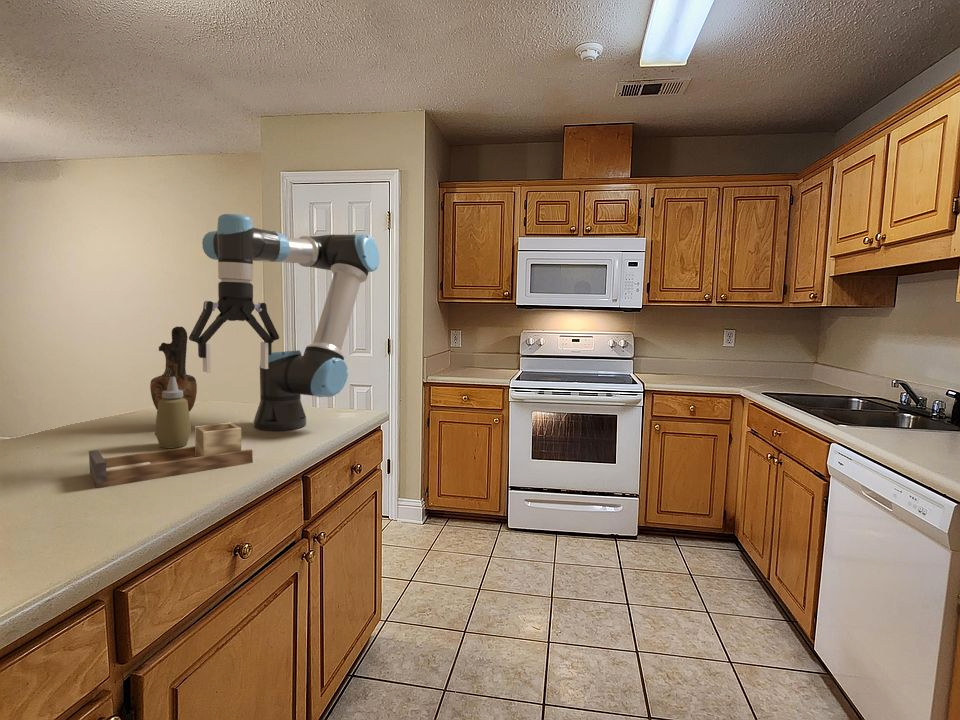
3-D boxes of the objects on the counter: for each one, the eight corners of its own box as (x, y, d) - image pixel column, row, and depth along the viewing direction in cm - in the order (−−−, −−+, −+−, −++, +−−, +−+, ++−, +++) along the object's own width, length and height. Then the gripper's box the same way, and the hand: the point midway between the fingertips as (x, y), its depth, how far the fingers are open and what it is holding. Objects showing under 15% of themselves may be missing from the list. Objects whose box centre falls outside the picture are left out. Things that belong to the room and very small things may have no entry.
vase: (185, 421, 162) (184, 324, 159) (206, 428, 155) (204, 326, 152) (144, 427, 153) (141, 324, 150) (163, 434, 145) (161, 327, 143)
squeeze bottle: (175, 451, 130) (173, 380, 129) (147, 448, 132) (145, 377, 130) (198, 443, 138) (197, 376, 136) (172, 440, 140) (171, 374, 138)
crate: (231, 450, 129) (230, 422, 128) (241, 457, 124) (241, 428, 123) (195, 455, 124) (194, 426, 123) (204, 462, 118) (204, 432, 118)
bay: (237, 452, 132) (237, 432, 131) (252, 462, 124) (252, 441, 123) (89, 473, 112) (89, 451, 111) (96, 488, 104) (96, 463, 103)
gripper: (279, 284, 136) (279, 365, 138) (172, 278, 118) (174, 371, 120) (293, 284, 131) (292, 368, 133) (183, 278, 113) (185, 375, 115)
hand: (236, 370), depth 126 cm, fingers open, 13 cm apart
